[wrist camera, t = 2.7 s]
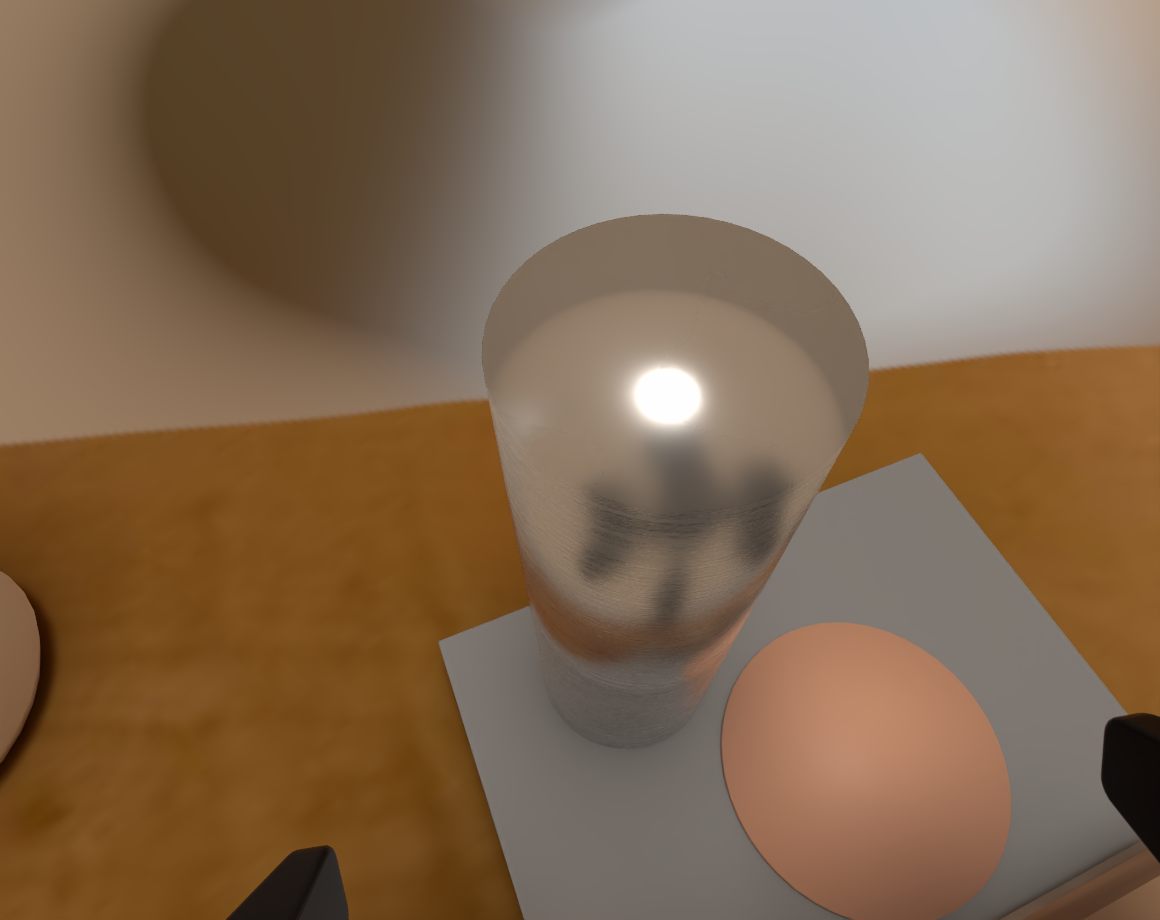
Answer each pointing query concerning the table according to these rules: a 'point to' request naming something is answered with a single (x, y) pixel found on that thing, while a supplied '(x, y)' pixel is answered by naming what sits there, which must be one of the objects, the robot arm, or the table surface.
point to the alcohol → (16, 661)
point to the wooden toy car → (1104, 892)
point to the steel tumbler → (661, 449)
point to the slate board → (819, 742)
